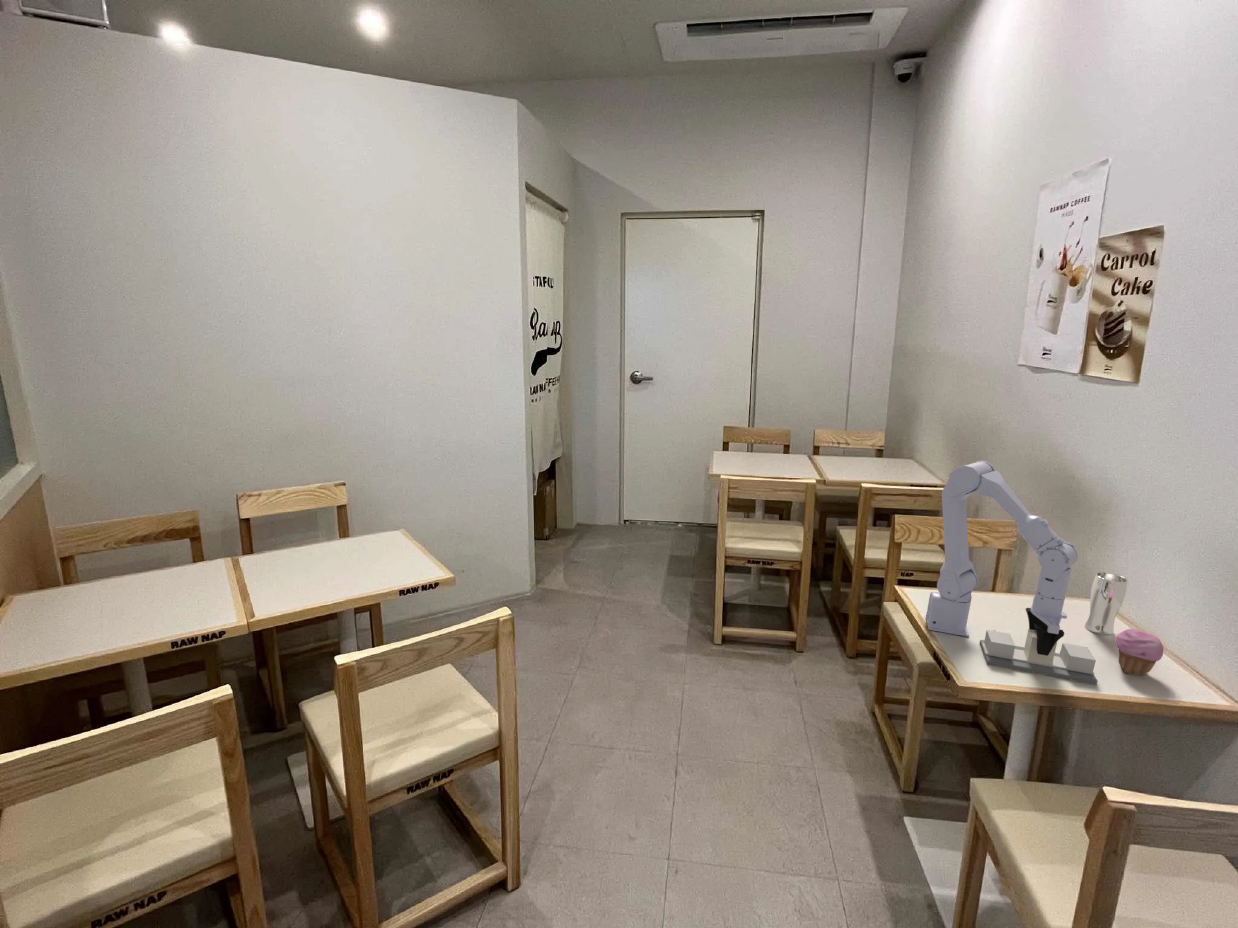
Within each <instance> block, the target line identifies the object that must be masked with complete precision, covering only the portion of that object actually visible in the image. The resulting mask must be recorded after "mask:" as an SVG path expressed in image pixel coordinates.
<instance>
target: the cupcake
mask: <svg viewBox="0 0 1238 928" xmlns="http://www.w3.org/2000/svg"><path fill="white" fill-rule="evenodd" d="M1114 642H1115V645H1116V647H1117V649H1118V664H1119V666H1120V667H1121V668H1122V671H1123V672H1124V673H1126V674H1129V675H1137V676H1145V675H1147V674H1148V673H1149V672H1151V670H1152V669H1153V667H1154V666H1155V664H1156V663H1157V662H1159V661H1160V660H1161V659H1162V658H1163V655H1164V645H1163V643H1162V641H1161V640H1160V638H1159V637H1158V636H1156V635H1154V634H1153V633H1149V632H1146V631H1144V630H1140V629H1136V628H1128V629H1125V630H1123V631H1122V632H1119V633H1118V634H1116V638H1115V640H1114Z"/></svg>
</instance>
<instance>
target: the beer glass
mask: <svg viewBox="0 0 1238 928" xmlns="http://www.w3.org/2000/svg"><path fill="white" fill-rule="evenodd" d="M1128 582H1129V581H1128V579H1127V578H1125V577H1124V576H1123V575H1120V574H1116V573H1114V572H1108V571H1098V572H1096V573H1095V577H1094V580H1093V582H1092V586H1091V589H1090V598H1089V599H1090V601H1089V602H1090V603H1089V605H1090V607H1089V608H1090V610H1089V615H1088V618H1087V620H1086V622H1085V624H1084V625H1085V626H1084V627H1085V628H1086V629H1087V631H1090V632H1092V633H1094V634H1098V635H1101V636H1112V635H1114V632H1115V631H1114V624H1115V620H1116V617H1117V615H1118V613H1119V611H1121V610H1120V609H1121V607H1122V606H1123V603H1124V601H1125V598H1126V593H1127V586H1128Z"/></svg>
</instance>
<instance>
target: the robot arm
mask: <svg viewBox="0 0 1238 928" xmlns="http://www.w3.org/2000/svg"><path fill="white" fill-rule="evenodd" d="M948 477H949V478H948V479H947V482H946V484H945V485H944V487H943V489H942V491H941V505H942V506H941V507H942V508H941V509H942V524H943V525H942V526H943V540H944V541H943V542H944V543H943V544H944V562H943V564H942V566H941V567H940V570H939V578H938V580H937V583H936V588H937V590H938V591H931V592H930V593H929V597H928V603H927V610H926V614H925V619H926V623H927V628H928V630H929V631H935V632H940V633H945V634H951V635H957V636H961V637H962V636H963V637H970V633H969V628H968V626H967V624H968V621H969V614H970V609H971V608H970V607H971V602H972V591H975V590H976V589H977V588H978V585H979V578H978V576H977V573H976V571H975V565H974V563H973V562H972V561H971V560H970V557H969V556H970V555H969V554H970V553H969V538H968V537H969V536H968V535H969V534H968V518H967V517H968V515H967V512H968V511H967V499H968V498H969V497H970V496H971V495H972V494H974V493H975V494H976V495H980V496H985V497H990V498H992V499H993V500H994V502H996V503H997V504H998V505H999V506H1000V507H1001V508H1002V509H1003V510H1004V511H1005V512H1006V513H1007V514H1008V515H1009V516H1010V517H1011V518H1012V519H1013V520H1014V521H1015V522H1016V523H1017V524H1016V531H1017V532H1018V533H1019V535H1020V536H1021V537H1022V538H1023V539H1024V541H1025V542H1026V543H1027V544H1028V545H1029V546H1030V548H1032V550H1033V551H1034V552H1035V553H1036V554H1037V555H1038V563H1039V565H1040V566H1041V567H1040V571H1039V572H1038V579H1037V583H1036V587H1035V591H1034V592H1035V593H1034V596H1033V599H1032V604H1031V607H1026V608H1025V611H1026V614H1027V619H1028V629H1031V630H1036V633H1037V653H1038V654H1040V655H1046V656H1048V655H1049V653H1050V652H1051V650H1052V648H1053V646H1054V645H1055V643H1056V642H1057V643H1058V642H1059V640H1060V639H1061V638H1063V637H1064V636H1065V632H1064V630H1063V629H1061V626H1060V624H1061V621H1062V619H1068V615H1067V614H1066V612H1064V611H1063V610H1064V609H1063V608H1064V604H1065V603H1064V602H1065V599H1066V595H1067V590H1068V586H1069V582H1070V574H1071V571H1072V566H1074V564H1075V563H1076V562H1077V560H1078V557H1079V556H1078V555H1079V554H1078V552H1077V549H1076V548H1075V547H1074V545H1073V543H1070V542H1068V541H1065V539H1064V538H1062V537H1059V536H1058V535H1057V534H1056V532H1055V531H1054V530H1053V529H1052V528H1051V527H1050V526H1049V524H1050V522H1049V521H1048V520H1047V519H1046V518H1044V519H1043V518H1042V517H1041V516H1039V515H1033V514H1031V513H1030V512H1029V510H1028V509H1027V508H1026V506H1024V504H1023V503H1022V502H1021V500H1020V499H1019V498H1018V496H1016V494H1015V493H1014V491H1012V489H1011V488H1010V487H1009V486H1008V484H1007V483H1006V482H1005V480H1004V478H1003V476H1002V473H1001V472H1000V471H998V470H997V469H996V470H995V468H994V465H992V464H991V463H990V462H988V461H985V460H977V461H975V462H973V463H969V464H966V465H961V466H958V467H957V468H955V469H954V470H952V471H951V472H950V473H949V474H948Z"/></svg>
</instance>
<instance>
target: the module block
mask: <svg viewBox="0 0 1238 928" xmlns="http://www.w3.org/2000/svg"><path fill="white" fill-rule="evenodd" d="M1057 645H1058V641H1057V642H1056V643H1055V645H1054V646H1053V648H1052V650H1051V652H1050V653H1049V655H1048V656H1046V655H1040V654H1038V653H1037V633H1036V630H1031V629H1029V628H1028V629H1027V633H1026V639H1025V644H1024V646H1023V647H1024V653H1025V655H1026V658H1027V660H1030V661H1036V662H1041V663H1047V664H1052V663H1053V659H1054V654H1055V653H1056V649H1057Z"/></svg>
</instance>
